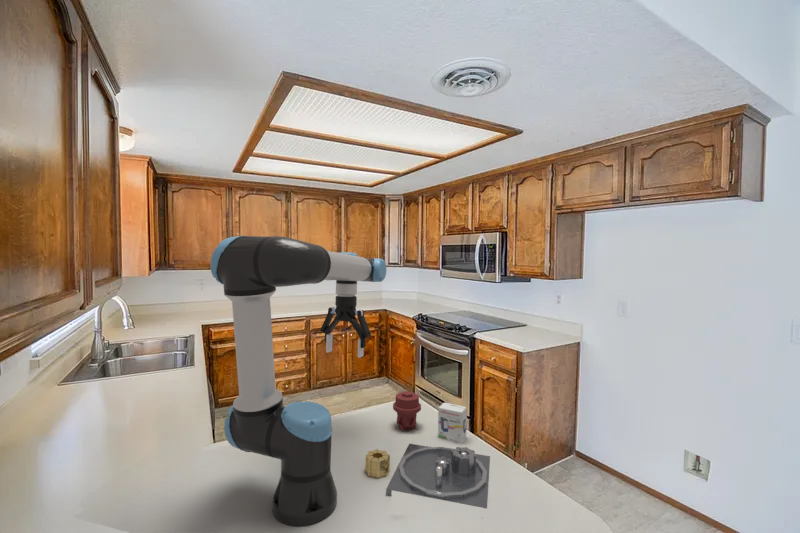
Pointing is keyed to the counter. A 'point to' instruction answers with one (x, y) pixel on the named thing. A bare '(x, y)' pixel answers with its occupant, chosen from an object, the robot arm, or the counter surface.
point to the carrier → (440, 476)
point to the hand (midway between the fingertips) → (344, 354)
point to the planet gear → (377, 463)
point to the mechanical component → (407, 409)
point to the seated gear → (463, 461)
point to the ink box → (452, 422)
